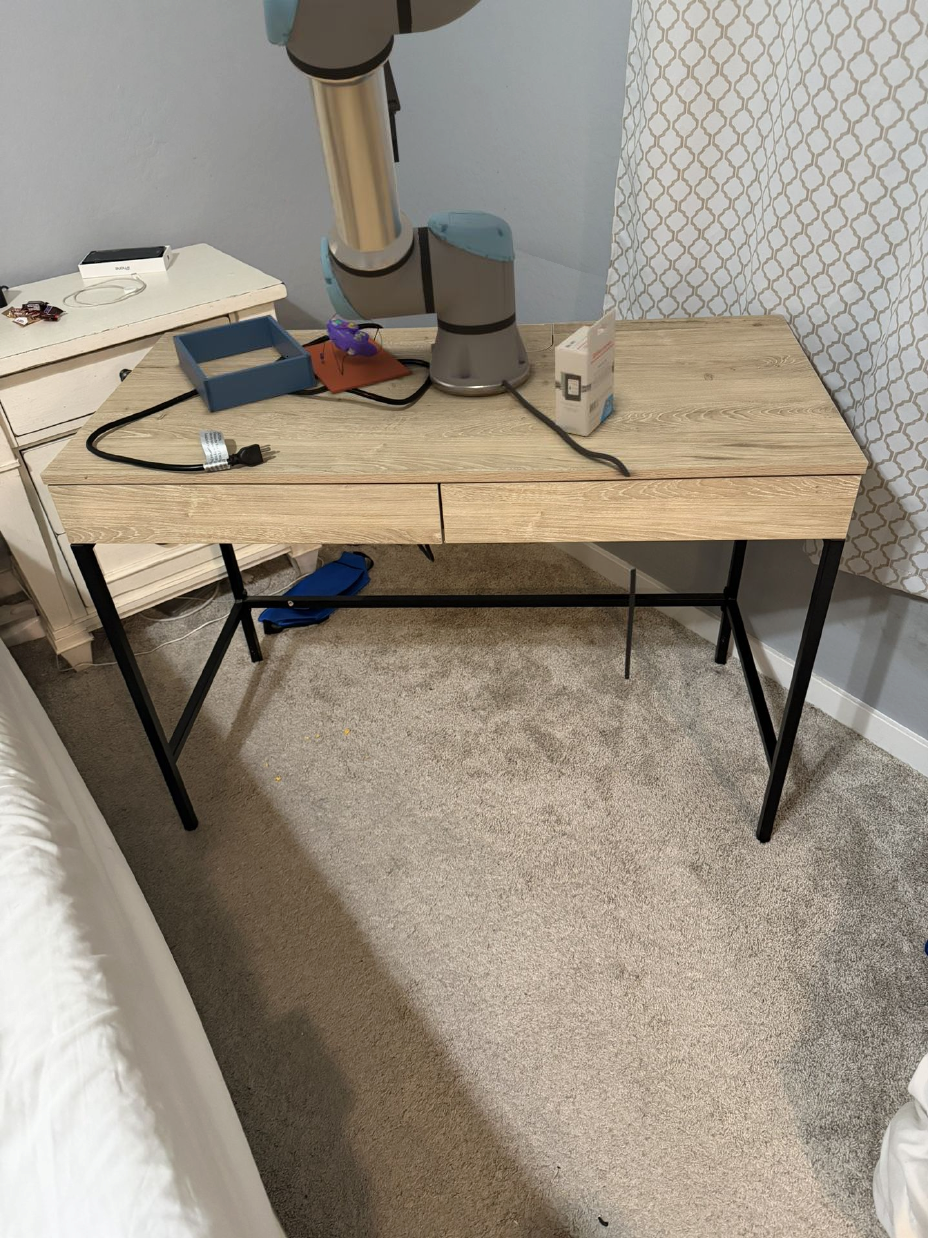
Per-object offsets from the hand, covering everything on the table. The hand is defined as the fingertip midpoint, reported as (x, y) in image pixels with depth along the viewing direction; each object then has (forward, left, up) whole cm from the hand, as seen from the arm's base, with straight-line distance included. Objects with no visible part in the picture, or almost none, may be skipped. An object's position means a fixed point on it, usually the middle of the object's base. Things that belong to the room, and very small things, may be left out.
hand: (374, 155), depth 146 cm
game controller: (-13, +14, -26) cm, 33 cm away
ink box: (-52, -7, -27) cm, 59 cm away
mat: (-13, +13, -27) cm, 32 cm away
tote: (-8, +29, -27) cm, 40 cm away
